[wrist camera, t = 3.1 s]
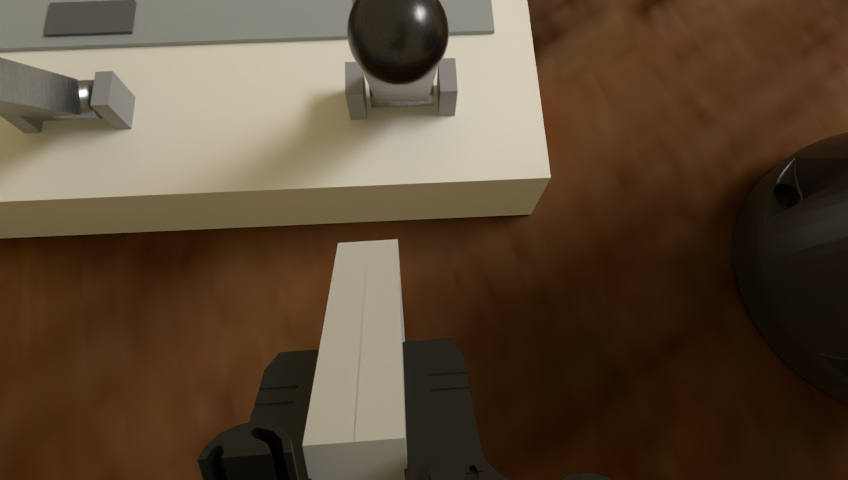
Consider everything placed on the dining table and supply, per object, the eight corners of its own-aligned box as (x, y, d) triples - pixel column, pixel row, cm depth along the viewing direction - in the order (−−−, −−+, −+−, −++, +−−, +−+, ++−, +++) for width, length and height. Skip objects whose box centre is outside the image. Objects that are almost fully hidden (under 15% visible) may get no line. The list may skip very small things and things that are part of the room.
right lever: (430, 57, 28) (450, -41, 15) (432, 119, 28) (454, 74, 15) (369, 60, 28) (337, -38, 15) (373, 122, 28) (344, 78, 15)
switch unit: (509, 37, 35) (531, -55, 29) (530, 214, 32) (561, 157, 25) (29, 55, 35) (-67, -35, 28) (-7, 238, 31) (-128, 186, 24)
